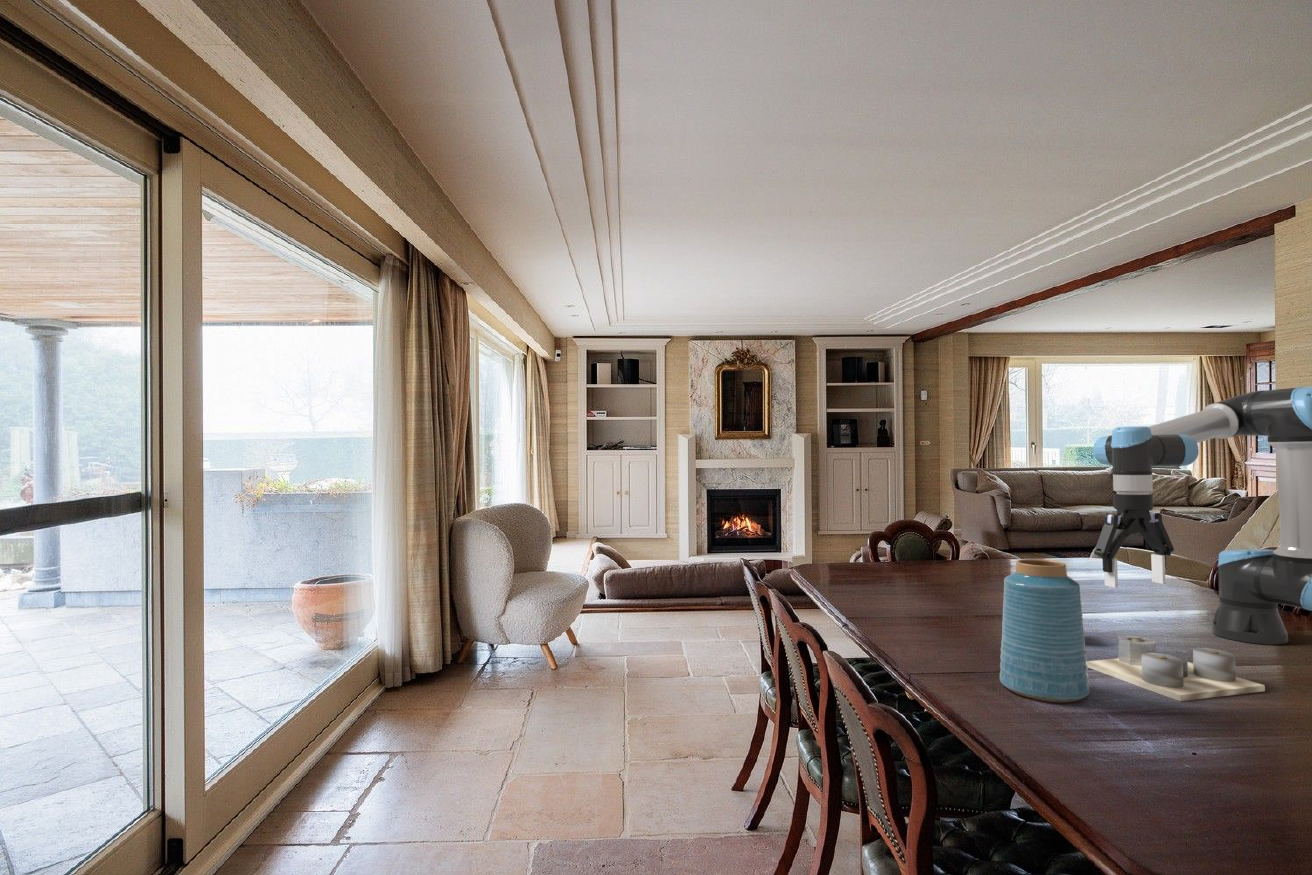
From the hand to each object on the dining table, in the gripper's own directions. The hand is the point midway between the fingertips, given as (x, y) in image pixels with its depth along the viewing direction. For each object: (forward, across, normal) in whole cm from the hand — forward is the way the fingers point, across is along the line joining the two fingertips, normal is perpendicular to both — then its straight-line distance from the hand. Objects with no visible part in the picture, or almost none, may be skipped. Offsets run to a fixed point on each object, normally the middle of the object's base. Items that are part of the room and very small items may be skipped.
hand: (1135, 584), depth 156 cm
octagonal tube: (+18, +1, 0) cm, 18 cm away
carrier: (+19, +1, +8) cm, 21 cm away
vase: (+19, +33, +7) cm, 38 cm away
